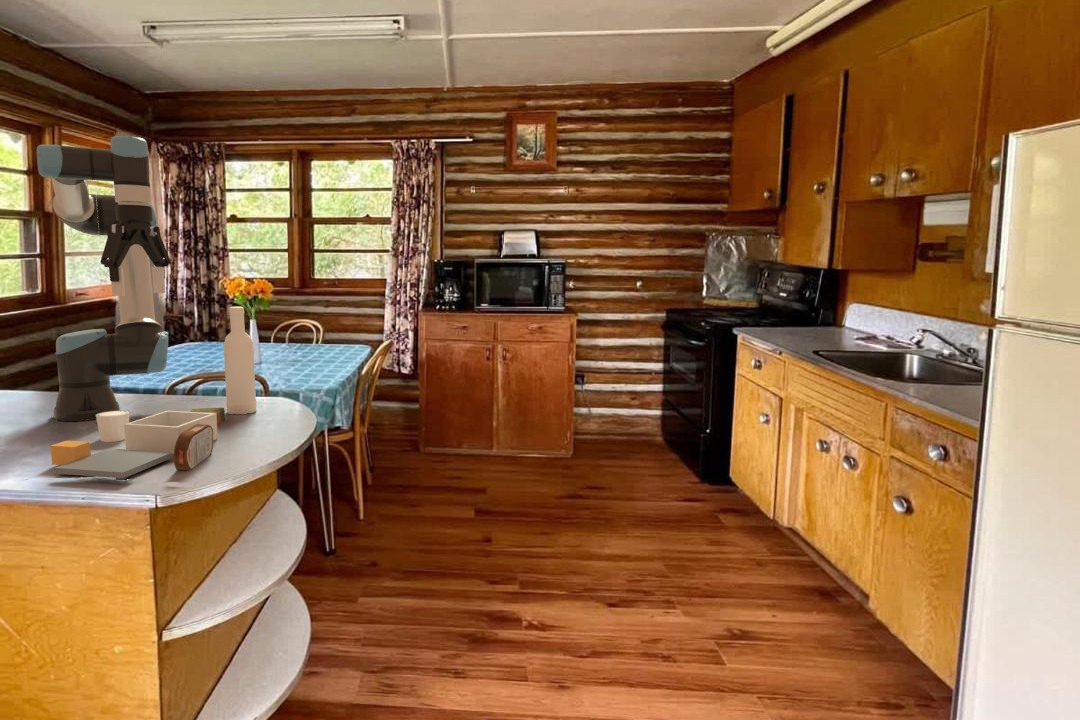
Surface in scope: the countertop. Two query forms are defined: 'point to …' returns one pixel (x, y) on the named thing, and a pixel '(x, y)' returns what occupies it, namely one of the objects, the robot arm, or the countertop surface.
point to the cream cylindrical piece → (112, 425)
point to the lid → (102, 460)
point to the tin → (193, 446)
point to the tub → (164, 430)
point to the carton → (219, 412)
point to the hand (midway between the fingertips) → (140, 294)
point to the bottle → (239, 366)
